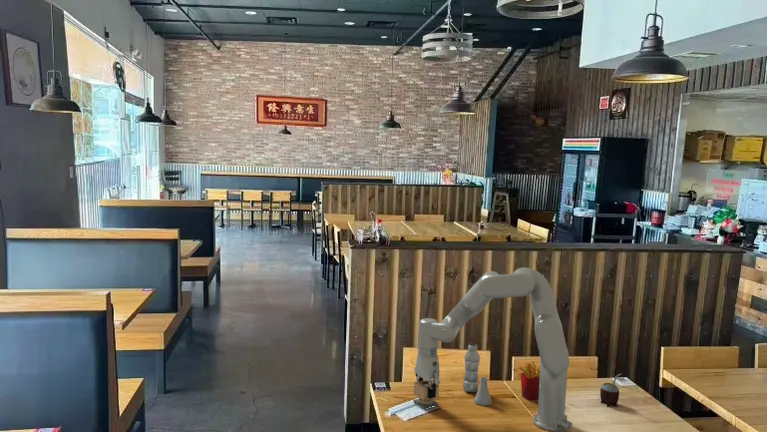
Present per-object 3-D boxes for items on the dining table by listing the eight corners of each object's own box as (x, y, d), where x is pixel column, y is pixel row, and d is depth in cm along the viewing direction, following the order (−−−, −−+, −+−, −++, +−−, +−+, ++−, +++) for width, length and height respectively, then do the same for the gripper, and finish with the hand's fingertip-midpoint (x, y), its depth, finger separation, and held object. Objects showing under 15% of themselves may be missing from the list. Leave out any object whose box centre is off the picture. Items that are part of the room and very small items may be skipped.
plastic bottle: (459, 389, 225) (461, 343, 223) (472, 387, 228) (474, 341, 226) (468, 395, 219) (470, 348, 217) (481, 392, 222) (483, 346, 220)
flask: (492, 407, 208) (493, 382, 207) (473, 405, 210) (474, 380, 209) (491, 399, 215) (493, 376, 214) (474, 397, 217) (475, 374, 216)
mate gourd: (601, 399, 219) (603, 364, 218) (621, 404, 215) (624, 368, 214) (598, 405, 212) (600, 369, 211) (619, 410, 208) (621, 373, 207)
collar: (438, 397, 207) (438, 385, 207) (424, 400, 204) (424, 388, 203) (428, 390, 213) (428, 378, 213) (413, 394, 210) (414, 382, 209)
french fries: (542, 400, 216) (544, 364, 215) (525, 403, 213) (527, 366, 212) (528, 391, 224) (530, 357, 223) (512, 394, 221) (514, 359, 220)
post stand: (438, 406, 207) (438, 386, 207) (423, 409, 204) (424, 389, 203) (427, 399, 213) (428, 380, 213) (413, 402, 210) (414, 383, 209)
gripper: (448, 355, 202) (447, 400, 203) (422, 342, 216) (421, 384, 218) (433, 358, 198) (431, 404, 199) (407, 345, 212) (406, 388, 214)
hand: (426, 393), depth 208 cm, fingers closed on collar, 7 cm apart
